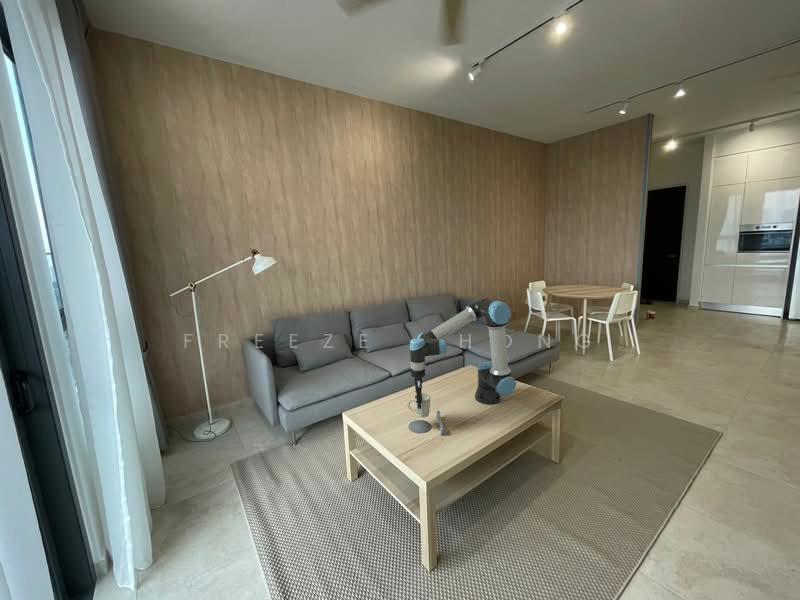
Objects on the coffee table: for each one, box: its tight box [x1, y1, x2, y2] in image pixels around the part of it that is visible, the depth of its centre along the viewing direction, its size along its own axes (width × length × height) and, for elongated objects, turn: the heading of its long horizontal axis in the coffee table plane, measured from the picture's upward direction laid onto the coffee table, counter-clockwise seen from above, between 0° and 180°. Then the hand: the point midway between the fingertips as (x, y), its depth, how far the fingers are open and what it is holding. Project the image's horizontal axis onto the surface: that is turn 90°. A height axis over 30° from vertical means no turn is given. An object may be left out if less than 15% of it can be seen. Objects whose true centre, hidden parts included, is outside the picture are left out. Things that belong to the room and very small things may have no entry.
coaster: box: [408, 419, 432, 434], centre depth 169 cm, size 12×12×1 cm
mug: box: [407, 393, 431, 418], centre depth 167 cm, size 8×13×10 cm, turn 79°
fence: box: [436, 410, 445, 437], centre depth 168 cm, size 2×18×4 cm, turn 0°
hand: (418, 408), depth 167 cm, fingers closed on mug, 8 cm apart
